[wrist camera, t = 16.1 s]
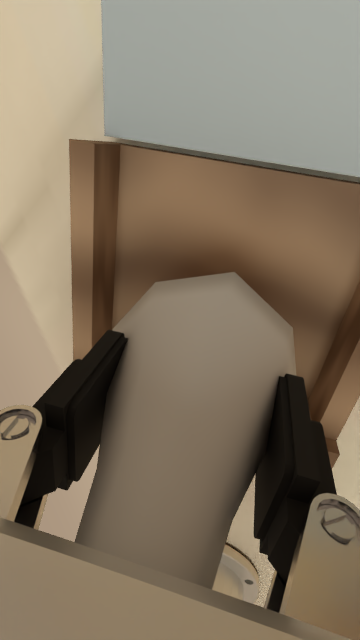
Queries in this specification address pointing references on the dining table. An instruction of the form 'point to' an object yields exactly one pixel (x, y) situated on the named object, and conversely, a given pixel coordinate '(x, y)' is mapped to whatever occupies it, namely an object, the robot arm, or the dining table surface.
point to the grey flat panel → (237, 78)
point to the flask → (185, 423)
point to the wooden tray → (222, 252)
